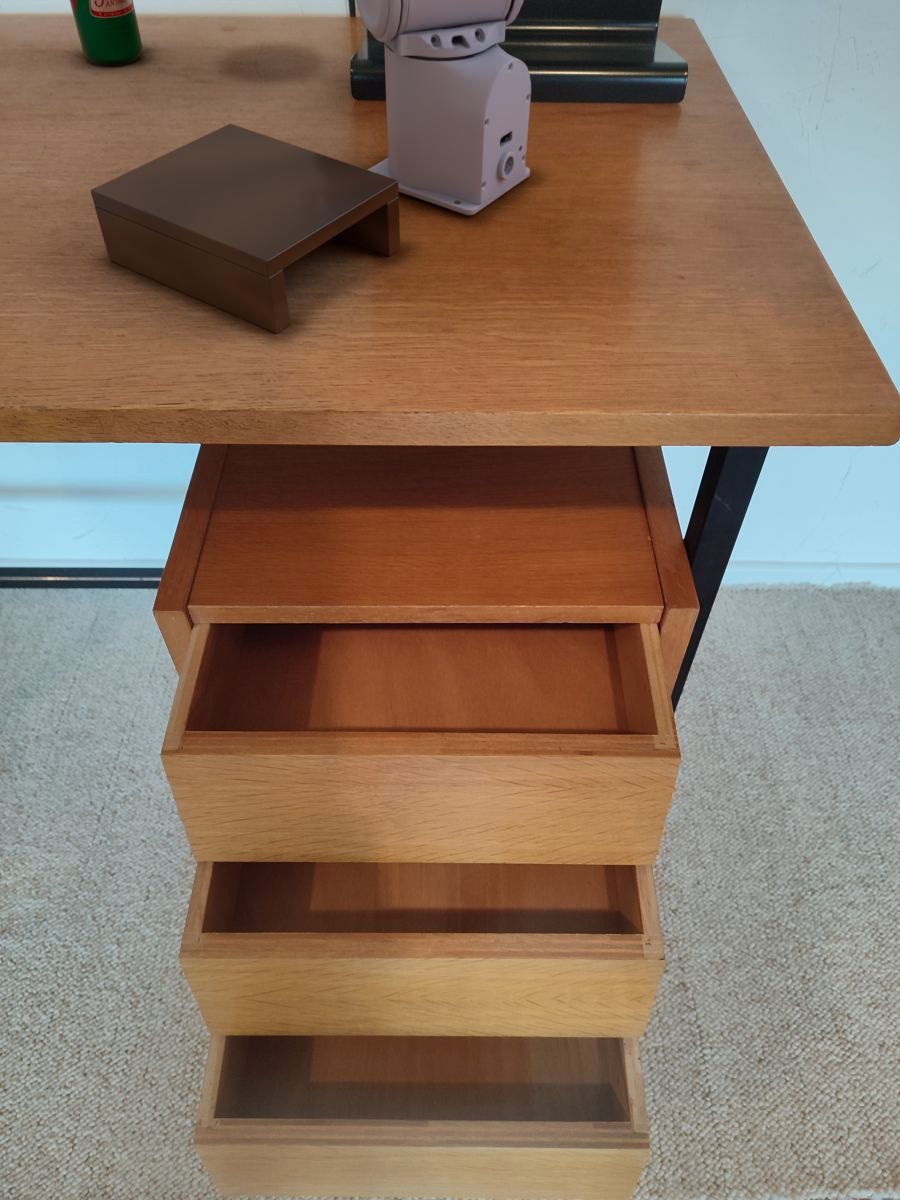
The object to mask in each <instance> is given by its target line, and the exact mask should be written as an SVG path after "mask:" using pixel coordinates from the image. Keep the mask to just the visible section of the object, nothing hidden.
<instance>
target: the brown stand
mask: <svg viewBox="0 0 900 1200" xmlns="http://www.w3.org/2000/svg"><path fill="white" fill-rule="evenodd" d="M90 195H91V198H92V201H93V205H94V210H95V214H96V216H97V220H98V224H99V227H100V231H101V235H102V238H103V242H104V246H105V249H106V252H107V256H108V260H109V261H111V262H113V263H115V264H117V265H120V266H122V267H124V268H126V269H129V270H131V271H134V272H136V273H137V274H140V275H142V276H145V277H147V278H148V279H151V280H154V281H156V282H158V283H161V284H164V285H165V286H168V287H170V288H172V289H174V290H177V291H179V292H180V293H183V294H185V295H187V296H190V297H193V298H195V299H197V300H199V301H202V302H204V303H206V304H209V305H210V306H213V307H215V308H218V309H219V310H222V311H224V312H227V313H229V314H231V315H232V316H236V317H238V318H240V319H242V320H245V321H247V322H250V323H252V324H254V325H256V326H259V327H261V328H263V329H265V330H267V331H270V332H271V333H275V334H279V333H280V332H281V331H283V330H284V329H286V328H287V327H289V326H290V325H291V322H290V321H291V319H290V313H289V305H288V299H287V298H288V297H287V289H286V281H285V274H284V269H285V268H286V267H288V266H290V265H291V264H293V263H294V262H296V261H298V260H300V258H302V257H303V256H305V255H307V254H309V253H310V252H312V251H313V250H315V249H317V248H318V247H319V246H321V245H323V244H324V243H326V242H328V241H329V240H330V239H332V238H334V237H337V238H339V239H342V240H344V241H348V242H350V243H353V244H355V245H358V246H360V247H362V248H365V249H368V250H370V251H371V250H372V251H374V252H377V253H379V254H382V255H384V256H387V257H391V256H392V255H394V254H396V253H397V252H399V251H400V250H401V225H400V224H401V223H400V221H401V220H400V192H399V187H398V180H395V179H393V178H390V177H387V176H384V175H381V174H378V173H375V172H372V171H369V170H368V169H365V168H363V167H360V166H357V165H354V164H351V163H347V162H346V161H342V160H339V159H336V158H333V157H330V156H328V155H325V154H321V153H319V152H316V151H312V150H310V149H306V148H303V147H301V146H298V145H295V144H292V143H289V142H286V141H283V140H280V139H277V138H274V137H272V136H268V135H265V134H262V133H259V132H256V131H254V130H251V129H247V128H245V127H241V126H239V125H236V124H233V123H229V124H226V125H224V126H222V127H219V128H218V129H216V130H213V131H212V132H211V131H210V132H209V133H207V134H206V135H203V136H201V137H199V138H197V139H195V140H192V141H190V142H188V143H186V144H184V145H182V146H179V147H178V148H176V149H174V150H172V151H169V152H167V153H166V154H163V155H161V156H159V157H157V158H155V159H153V160H150V161H148V162H146V163H144V164H142V165H140V166H138V167H136V168H134V169H131V170H130V171H128V172H126V173H123V174H121V175H120V176H117V177H115V178H113V179H111V180H108V181H107V182H104V183H102V184H101V185H98V186H96V187H94V188H91V189H90Z"/></svg>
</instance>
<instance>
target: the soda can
mask: <svg viewBox="0 0 900 1200" xmlns="http://www.w3.org/2000/svg"><path fill="white" fill-rule="evenodd" d="M69 5H70V8H71V11H72V15H73V19H74V23H75V27H76V31H77V35H78V39H79V42H80V47H81V51H82V53H83V55H84V56H85V57H86V58H87V59H88V60H89V61H90V62H92V63H93V64H97V65H101V66H111V67H112V66H121V65H125V64H126V65H127V64H130V63H131V62H134V61H136V60H137V59H138V58H139V57H140V55H141V54H142V51H143V47H144V45H143V41H142V35H141V32H140V27H139V22H138V18H137V14H136V8H135V3H134V0H69Z"/></svg>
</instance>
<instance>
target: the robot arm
mask: <svg viewBox="0 0 900 1200" xmlns="http://www.w3.org/2000/svg"><path fill="white" fill-rule="evenodd" d="M355 1H356V4H357V9H358V12H359V15H360V18H361V20H362V22H363V25H364V26H365V28H366V29H367V30H368V32H369V33H370V34H371V35H372V36H373V38H374V39H375V40H377V42H379V43H384V44H383V45H384V72H385V73H384V74H385V75H384V76H385V102H386V103H385V104H386V129H387V130H386V134H387V135H386V136H387V158H384V159H383V160H382V161H380V162H378V163H376V164H374V165H372V166H371V167H369V168H368V169H367V170H369V171H372V172H375V173H378V174H381V175H384V176H387V177H390V178H393V179H395V180H398V187H399V193H401V194H404V195H407V196H409V197H412V198H416V199H417V200H418V199H419V200H421V201H425V202H427V203H431V204H433V205H436V206H439V207H441V208H445V209H448V210H451V211H454V212H456V213H458V214H463V215H465V216H474V215H475V214H477V213H478V212H480V211H482V210H483V209H484V208H486V207H487V206H489V205H490V204H491V203H493V202H494V201H496V200H498V199H499V198H500V197H502V195H504V194H506V193H507V192H509V191H511V189H513V188H514V187H515V186H517V185H518V184H520V183H521V182H523V181H524V180H526V179H527V178H528V177H530V176H531V169H530V168H529V167H527V166H526V165H527V163H526V162H527V151H528V138H529V137H528V136H529V124H530V112H531V99H532V81H531V75H530V71H529V69H528V66H527V64H526V63H525V62H524V61H522V60H521V59H520V58H517V57H515V56H513V55H511V54H509V53H508V52H506V51H505V50H504V49H502V48H501V46H500V45H499V43H504V42H505V40H506V39H505V38H506V26H509V25H510V24H512V23H513V22H514V21H515V20H516V19H517V17H518V15H519V13H520V11H521V8H522V6H523V4H524V1H525V0H355Z"/></svg>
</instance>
